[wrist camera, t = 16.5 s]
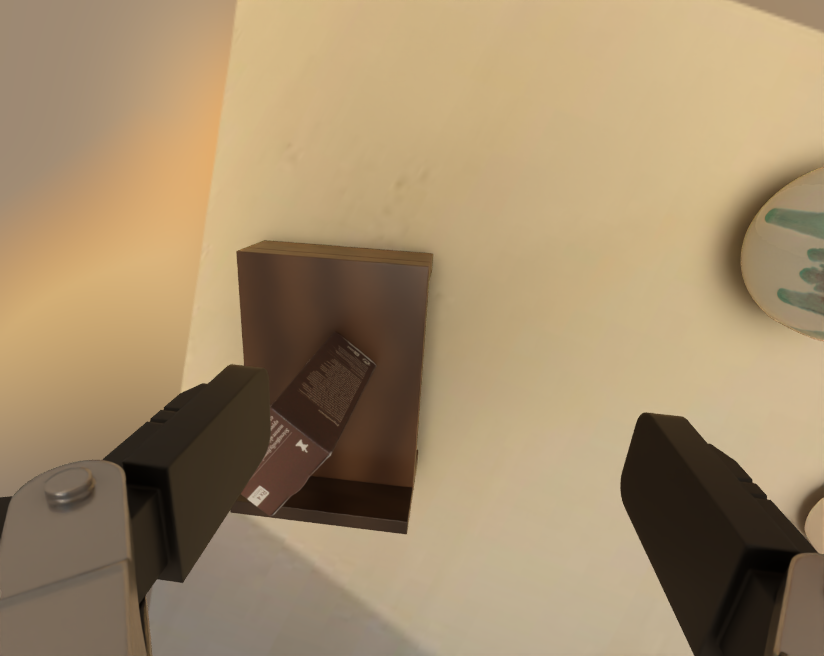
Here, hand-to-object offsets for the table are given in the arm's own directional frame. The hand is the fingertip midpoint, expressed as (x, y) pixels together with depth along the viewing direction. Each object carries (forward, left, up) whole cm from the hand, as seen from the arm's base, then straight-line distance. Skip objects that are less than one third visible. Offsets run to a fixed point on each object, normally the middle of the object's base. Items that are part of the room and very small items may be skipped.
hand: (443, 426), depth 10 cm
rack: (-9, -12, -28) cm, 32 cm away
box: (-9, -10, -23) cm, 27 cm away
